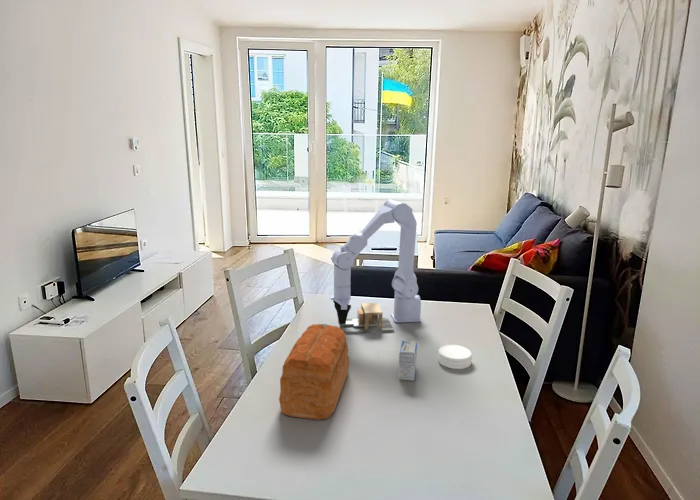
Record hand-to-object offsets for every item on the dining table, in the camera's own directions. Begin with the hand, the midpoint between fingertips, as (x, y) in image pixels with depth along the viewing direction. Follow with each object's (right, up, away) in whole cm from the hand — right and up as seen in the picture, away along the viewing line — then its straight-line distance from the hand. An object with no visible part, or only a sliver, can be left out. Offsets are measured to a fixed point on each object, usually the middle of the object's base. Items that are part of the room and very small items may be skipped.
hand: (341, 321), depth 169 cm
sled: (+5, -1, +1) cm, 5 cm away
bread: (-6, -13, -39) cm, 42 cm away
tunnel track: (+8, -2, +2) cm, 9 cm away
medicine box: (+19, -11, -30) cm, 37 cm away
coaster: (+35, -9, -23) cm, 42 cm away
